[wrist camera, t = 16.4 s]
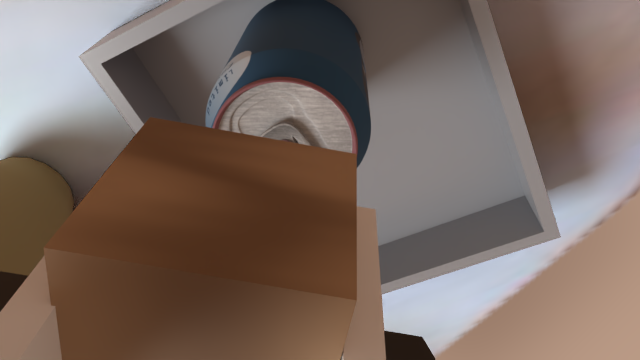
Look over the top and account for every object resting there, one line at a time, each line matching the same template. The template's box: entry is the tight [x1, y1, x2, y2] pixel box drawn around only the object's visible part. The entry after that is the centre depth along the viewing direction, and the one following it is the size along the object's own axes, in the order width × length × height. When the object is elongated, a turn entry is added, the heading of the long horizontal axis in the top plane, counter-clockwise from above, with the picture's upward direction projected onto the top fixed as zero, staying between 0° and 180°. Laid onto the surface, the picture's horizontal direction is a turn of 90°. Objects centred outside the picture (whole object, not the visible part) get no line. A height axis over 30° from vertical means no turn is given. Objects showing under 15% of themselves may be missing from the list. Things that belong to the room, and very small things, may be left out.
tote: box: [79, 0, 561, 294], centre depth 32 cm, size 22×20×5 cm
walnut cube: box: [44, 117, 357, 360], centre depth 12 cm, size 5×5×5 cm
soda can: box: [205, 0, 371, 168], centre depth 26 cm, size 7×7×12 cm
